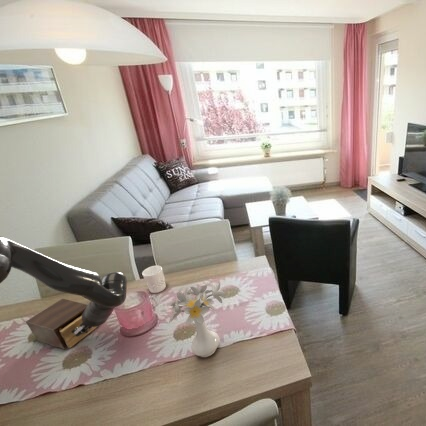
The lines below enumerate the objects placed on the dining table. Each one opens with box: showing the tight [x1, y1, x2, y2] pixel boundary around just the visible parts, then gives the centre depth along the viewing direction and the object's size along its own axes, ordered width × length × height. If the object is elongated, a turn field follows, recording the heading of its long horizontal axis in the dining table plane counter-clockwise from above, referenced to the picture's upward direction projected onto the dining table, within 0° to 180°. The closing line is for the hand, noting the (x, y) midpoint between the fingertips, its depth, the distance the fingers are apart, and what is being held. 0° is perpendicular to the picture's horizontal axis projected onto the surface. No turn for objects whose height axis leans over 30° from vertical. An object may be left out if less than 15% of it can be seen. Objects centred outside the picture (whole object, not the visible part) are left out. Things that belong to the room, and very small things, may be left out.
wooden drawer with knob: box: [57, 311, 99, 349], centre depth 109 cm, size 15×11×8 cm
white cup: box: [141, 265, 167, 294], centre depth 132 cm, size 8×8×10 cm
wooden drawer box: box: [25, 298, 88, 350], centre depth 110 cm, size 15×13×10 cm
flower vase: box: [168, 281, 226, 358], centre depth 98 cm, size 13×18×25 cm
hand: (85, 330), depth 107 cm, fingers closed
